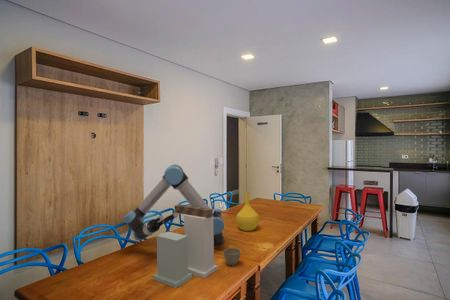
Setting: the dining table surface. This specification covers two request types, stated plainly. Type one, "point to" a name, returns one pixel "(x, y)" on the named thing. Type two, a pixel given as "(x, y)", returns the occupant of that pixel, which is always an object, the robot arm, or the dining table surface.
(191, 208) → the walnut beam
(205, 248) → the tall stand
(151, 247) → the dining table surface
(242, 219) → the vase
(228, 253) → the beige round bowl
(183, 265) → the post
